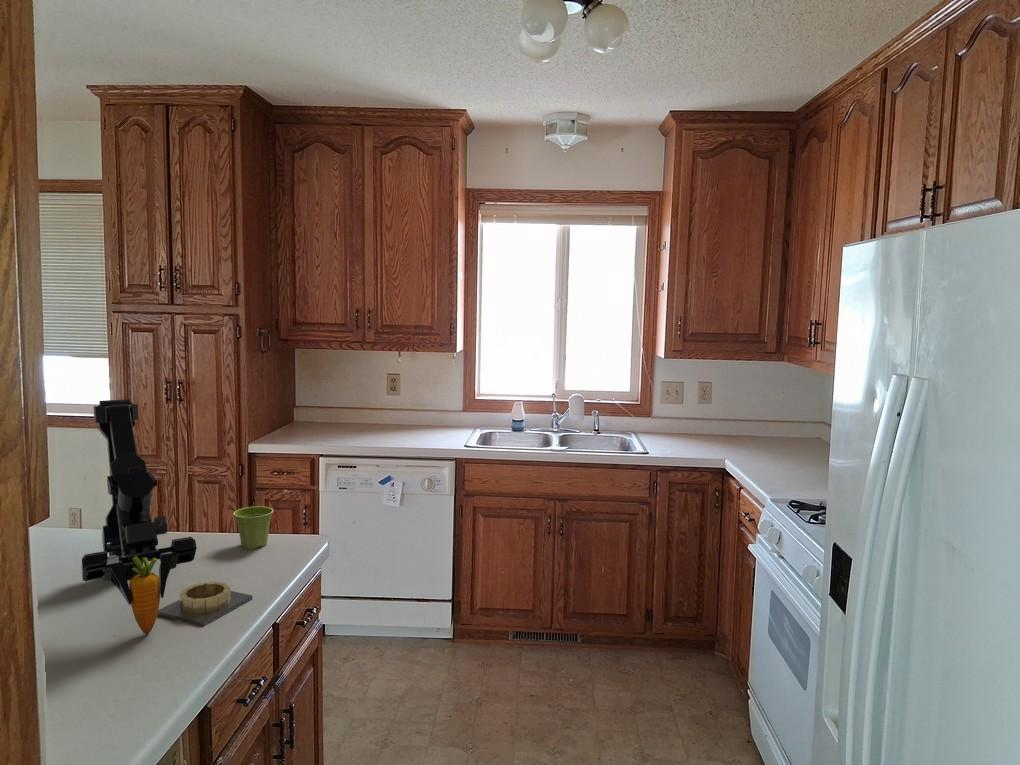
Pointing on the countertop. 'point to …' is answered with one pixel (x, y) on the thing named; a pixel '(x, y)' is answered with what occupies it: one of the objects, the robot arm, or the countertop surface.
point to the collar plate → (204, 616)
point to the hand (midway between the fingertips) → (146, 600)
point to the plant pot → (253, 525)
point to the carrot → (145, 594)
